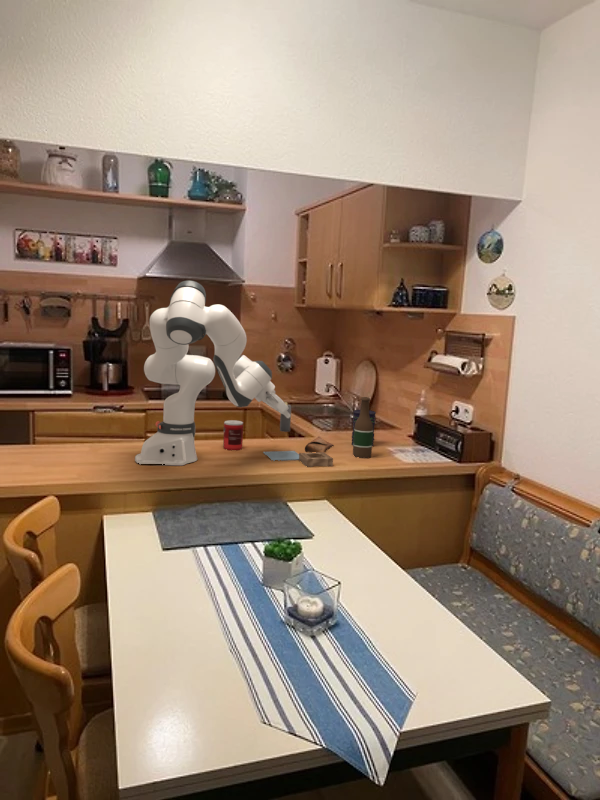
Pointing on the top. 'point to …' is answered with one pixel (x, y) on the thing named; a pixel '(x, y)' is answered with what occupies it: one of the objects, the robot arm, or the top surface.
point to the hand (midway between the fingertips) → (287, 415)
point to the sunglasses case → (318, 445)
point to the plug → (285, 421)
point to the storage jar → (356, 416)
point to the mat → (282, 455)
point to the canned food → (233, 435)
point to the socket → (315, 459)
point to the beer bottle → (363, 432)
